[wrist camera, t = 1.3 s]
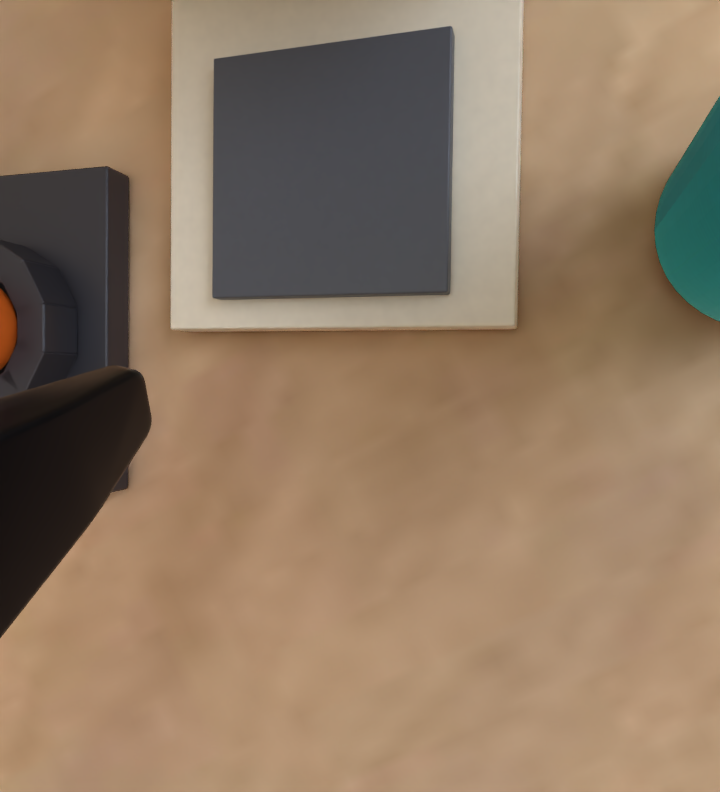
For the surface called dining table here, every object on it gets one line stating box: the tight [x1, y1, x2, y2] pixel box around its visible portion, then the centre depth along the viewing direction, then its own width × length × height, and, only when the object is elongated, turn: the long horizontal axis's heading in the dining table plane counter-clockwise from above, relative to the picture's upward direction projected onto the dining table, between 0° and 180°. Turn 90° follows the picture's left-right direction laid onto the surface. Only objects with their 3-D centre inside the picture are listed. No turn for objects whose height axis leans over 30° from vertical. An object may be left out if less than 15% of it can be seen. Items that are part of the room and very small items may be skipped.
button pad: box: [0, 166, 129, 493], centre depth 25 cm, size 12×9×3 cm
